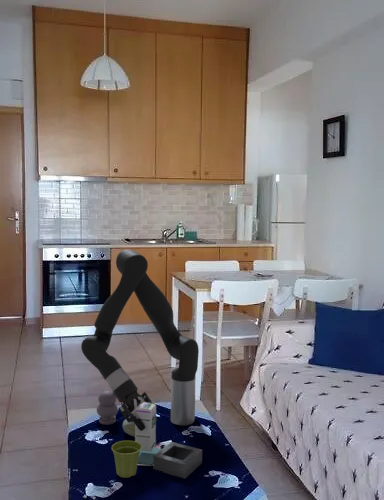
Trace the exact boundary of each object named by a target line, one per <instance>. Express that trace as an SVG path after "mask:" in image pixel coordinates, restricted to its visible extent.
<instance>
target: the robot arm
mask: <svg viewBox="0 0 384 500" xmlns="http://www.w3.org/2000/svg"><path fill="white" fill-rule="evenodd" d="M148 263H149V262H148V260H147V258H146V257H145V256H144V255H142V254H141V253H139V252H137V251H135V250H133V249H124V250H123V249H122V251H120V252H119V253H118V254H117V256H116V259H115V265H116V268H117V270H118V272H119V273H120V274H121V278H120V280H119V283H118V285H117V286H116V288H115V290H113V292H112V293H111V295H110V296H109V297H107V299H106V300H105V302H104V303H103V305H102V306H101V308H100V310H99V312H98V313H97V317H96V319H95V321H94V325H93V327H94V328H95V331H94V333H93V336H87V337H86V338H84V339H83V340H82V342H81V344H80V347H81V351H82V354H83V355H84V357H85V358H86V359H87V361H88V362H90V364H92V365H93V366H94V367H95V368H96V369H97V371H98V372H99V373H100V375H101V376H102V378H103V379H104V381H105V382H106V384H107V387H108V388H109V389H110V391H111V392H113V393H114V395H115V396H116V400H118V402H119V403H122V404H121V405H120V406H119V407H118V411H119V412H120V413H121V415H122V417H124V420H125V419H126V420H127V422H129V423H130V422H134V423H135V425H136V426H137V427H138V429H139V430H140V431H142V430H144V429H145V428H146V427H145V425H144V424H143V422H142V421H141V419H140V418H139V416H138V414H137V413H136V410H135V409H136V408H137V406H138V405H139V404H140V403H143V402H145V403H153V401H152V400H151V399H150V397H149V396H148V394H147V392H142V393H141V394H140V393H138V390H139V388H138V386H137V385H136V384H135V383H134V381H133V380H132V378H131V377H130V375H129V374H128V372H127V371H125V369H124V368H123V366H122V365H121V364H120V362H119V361H118V360H117V358H116V357H114V356H113V355H111V354H109V353H108V352H107V350H108V349H109V347H110V343H111V340H112V336H113V331H114V329H115V328H116V325H117V323H118V321H119V318H120V317H121V314H122V312H123V310H124V308H125V307H126V305H127V303H128V301H129V299H130V298H131V296H132V295H133V293H134V294H135V296H136V298H137V300H138V302H139V303H140V305H141V306H142V309H143V310H144V312H145V314H146V315H147V317H148V319H149V320H150V322H151V323H152V326H154V328H155V330H156V331H157V332H158V334H159V336H160V337H161V340H162V343H163V344H164V346H165V348H166V351H167V353H168V354H169V356H170V357H172V358H173V359H175V360H178V361H179V362H178V367H176V368H174V369H172V370H171V383H170V384H171V387H170V388H171V391H170V392H171V393H170V394H171V395H170V422H171V423H172V424H174V425H178V426H189V425H192V424H193V423H195V419H196V374H197V371H198V368H199V354H200V353H199V352H200V351H199V350H200V349H199V345H198V342H197V341H196V340H195V339H194V338H190V337H187V336H184V335H183V334H181V333H180V331H179V330H178V328H177V327H176V325H175V323H174V310H173V308H172V306H171V304H170V302H169V300H168V299H167V297H166V296H165V293H163V292H162V291H161V289H160V288H159V287H158V286H157V285H156V284H155V283H154V282H153V280H152V279H151V278H150V276H149V275H148V273H147V272H148V266H149V264H148ZM134 415H135V416H134ZM129 417H130V418H129ZM138 418H139V419H138ZM157 421H158V417H157V416H156V422H157Z"/></svg>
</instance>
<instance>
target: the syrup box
mask: <svg viewBox="0 0 384 500" xmlns="http://www.w3.org/2000/svg"><path fill="white" fill-rule="evenodd" d="M135 410H136V413H137V414H138V416H139V418H140V419H141V421H142V422H143V424H144V425H145V427H146V428H145V429H144V430H142V431H140V430H139V429H138V427H137V426H136V425H135V437H134V441H135V442H138V443H140V444H141V445H142V449H141V450H140V451H149V452H151V451H152V449H153V448H154V447H155V446H156V445H157V421H156V417H157V404H156V403H153V402H152V403H145V402H143V403H140V404H139V405H138V406H137V408H136V409H135ZM139 418H138V419H139Z"/></svg>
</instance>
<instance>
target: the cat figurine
mask: <svg viewBox="0 0 384 500" xmlns="http://www.w3.org/2000/svg"><path fill="white" fill-rule="evenodd" d="M97 399H98V404H97V407H96V413H97V415H98V416H99V419H98V420H99V421H98V422H99V423H100V424H101V425H107V426H108V425H113V424H114V423H116V421H117V420H116V419H117V418H116V415H117V414H118V411H119V409H118V408H119V407H118V405H117V404H116V401H117V398H116V396H115V395H114V393H113V392H112V391H111V390H105V389H104V388H102V389H101V393H99V395H98V397H97Z"/></svg>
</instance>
